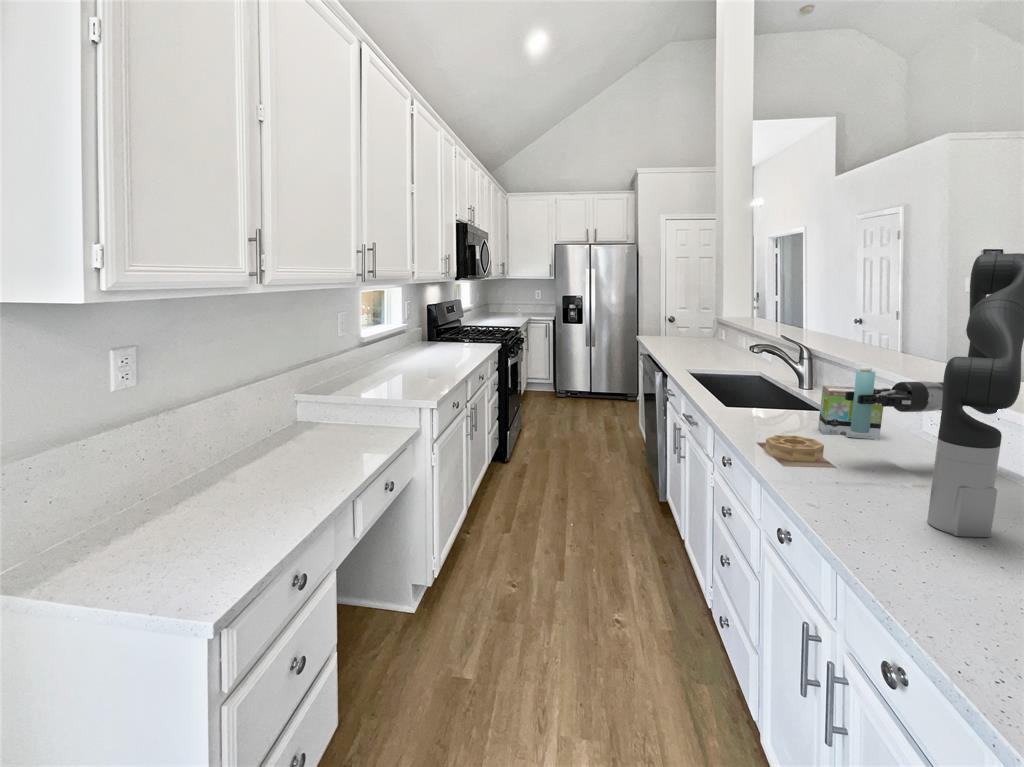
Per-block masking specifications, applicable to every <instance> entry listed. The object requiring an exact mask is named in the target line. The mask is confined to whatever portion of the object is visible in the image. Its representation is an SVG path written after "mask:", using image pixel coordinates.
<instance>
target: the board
mask: <svg viewBox="0 0 1024 767" xmlns="http://www.w3.org/2000/svg"><path fill="white" fill-rule="evenodd" d="M755 444H757V445H758V446H759V447H760V448H761V449H762V450H764V451H765V448H766V442H758V441H757V442H755ZM767 454H768V455H770V454H769V453H767ZM772 458H773V459H774V460H775V461H777V462H778V463H779V464H780V465H781V466H782V467H793V468H794V467H795V468H797V467H798V468H828V469H829V468H832V469H833V468H834V469H837V468H838V466H836V465H834V464H833V463H831V462H830V461H829V460H827V459H826V458H824V457H823V458H821V459H819V460H817V461H814V462H806V461H789V460H785V459H781V458H777V457H772Z"/></svg>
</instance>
